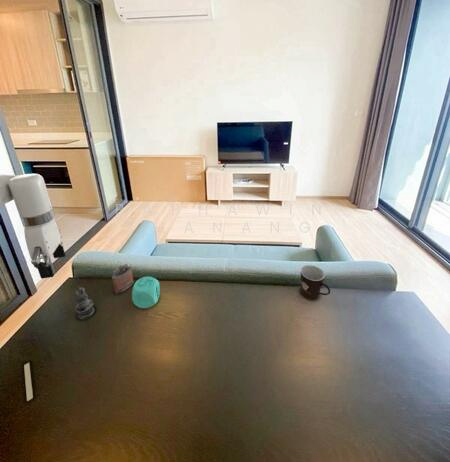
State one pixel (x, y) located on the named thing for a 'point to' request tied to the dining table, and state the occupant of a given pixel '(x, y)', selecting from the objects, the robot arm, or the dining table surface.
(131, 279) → the lighter
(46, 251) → the robot arm
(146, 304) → the decorative dice
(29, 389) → the beige long thin bar
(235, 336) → the dining table surface
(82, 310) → the dark grey chess piece
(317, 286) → the coffee mug
